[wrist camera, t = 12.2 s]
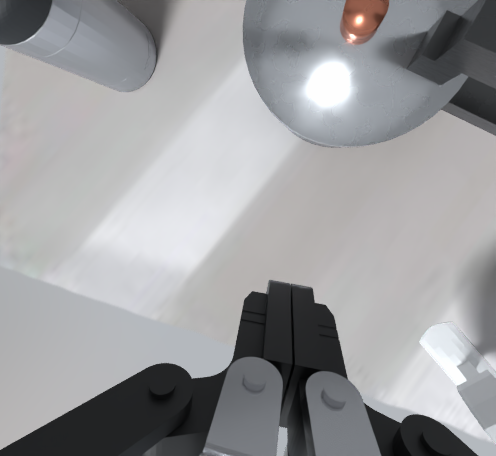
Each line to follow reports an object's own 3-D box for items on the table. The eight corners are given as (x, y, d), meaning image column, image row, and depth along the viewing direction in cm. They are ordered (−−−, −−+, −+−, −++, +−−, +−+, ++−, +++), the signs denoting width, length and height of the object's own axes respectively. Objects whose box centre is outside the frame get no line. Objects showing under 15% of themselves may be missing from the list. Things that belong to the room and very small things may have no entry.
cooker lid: (212, 93, 29) (175, 64, 21) (309, -143, 25) (311, -308, 16) (495, 231, 28) (582, 261, 19) (659, 6, 23) (876, -89, 14)
